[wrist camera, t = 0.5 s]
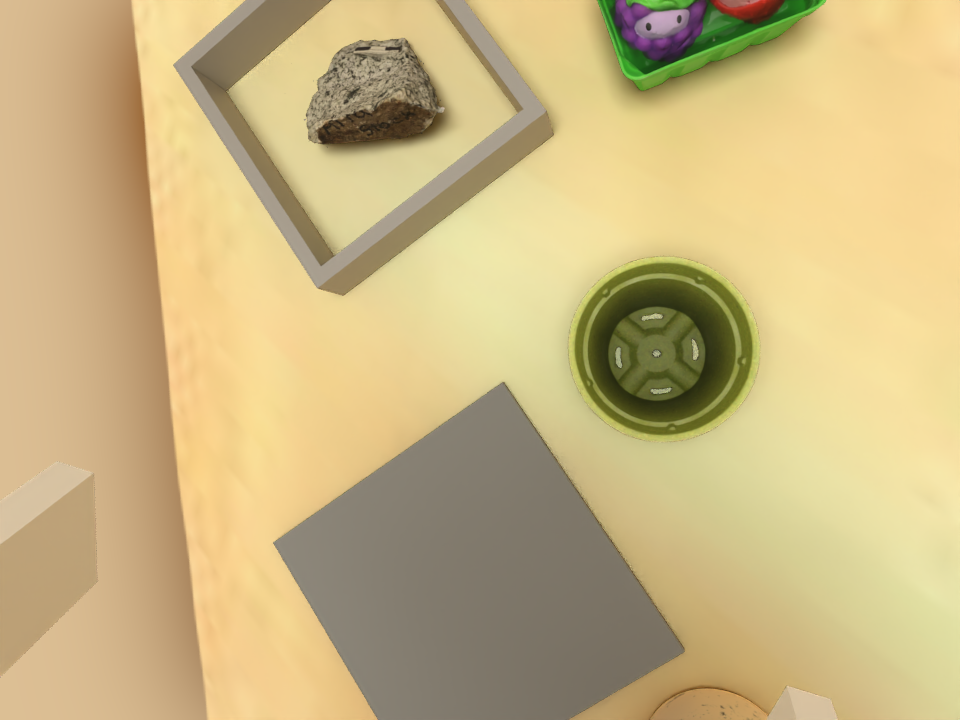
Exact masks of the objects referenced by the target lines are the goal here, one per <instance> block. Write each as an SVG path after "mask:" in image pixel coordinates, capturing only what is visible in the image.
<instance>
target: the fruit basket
mask: <svg viewBox="0 0 960 720" xmlns="http://www.w3.org/2000/svg"><path fill="white" fill-rule="evenodd" d="M597 1H598V4H599V7H600V9H601V12H602V15H603V18H604V20H605V23H606V26H607V29H608V32H609V35H610V37H611V40H612V43H613V46H614V49H615V52H616V55H617V58H618V61H619V64H620V67H621V70H622V72H623V74H624V75H625V76H626V77H627V78H628V79H630V80H632V81H633V82H634V83H635V84H636V86H637V87H638V88H639V90H641V91H644V90H647V89H650V88H652V87H655V86H657V85H659V84H662V83H663V82H665V81H666V80H667V79H669V77H679V76H682V75H684V74H687V73H689V72H692V71H694V70H697V69H699V68H701V67H703V66H704V65H705V64H707V63H708V62H709V61H711V62H712V61H719V60H721V59H724V58H726V57H729V56H731V55H734V54H736V53H739V52H741V51H742V50H744V49H745V48H746V47H748V46H749V45H758V44H761V43H763V42H766V41H768V40H771V39H774V38H776V37H778V36H780V35H781V34H782V33H784V32H785V31H786V30H787V29H789V28H790V27H791V26H792V25H794V24H795V23H796V22H797V21H799V20H800V19H801V18H802V17H805V16H807V15H809V14H811V13H812V12H814V11H815V10H816V9H818V8H819V7H820V6H822V5H823V4H824V3H825V2H826V0H597Z"/></svg>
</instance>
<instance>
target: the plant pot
mask: <svg viewBox="0 0 960 720" xmlns="http://www.w3.org/2000/svg"><path fill="white" fill-rule="evenodd" d="M654 313H658V314H662V315H663V318H662V319H650V320H645V321H642V320H641V318H642V316H645V315H651V314H654ZM691 339H693V340H695V341H696V343H697V346H698V350H699V357H698V359H697V360H693V359H692V357H693V349H692V342H691ZM617 347H620V348H621V362H622V365H623V366H622V368H619V367H618V366H617V365H616V362H615V361H616V358H615V351H616V348H617ZM654 350H659V351H660V352H661V355H660V356H659V357H653V355H652V353H653V351H654ZM568 356H569V363H570V368H571V372H572V376H573V378H574V381H575V384H576V386H577V388H578V390H579V392H580V394H581V396H582V397H583V399H584V400H585V402H586V403H587V405H588V406H589V407H590V408H591V409H592V411H593V412H594V413H595V414H596V415H597V416H598V417H599V418H601V419H602V420H603V421H604V422H605V423H607V424H608V425H609V426H611V427H612V428H614V429H616V430H617V431H619V432H621V433H623V434H625V435H628V436H631V437H634V438H637V439H641V440H645V441H652V442H675V441H682V440H687V439H691V438H694V437H697V436H700V435H702V434H704V433H706V432H709V431H710V430H712V429H714V428H716V427H717V426H719V425H720V424H721V423H723V422H724V421H726V420H727V419H728V418H729V417H730V416H731V415H732V414H733V413H734V412H735V411H736V410H737V409H738V408H739V407H740V405H741V404H742V403H743V401H744V400H745V399H746V397H747V396H748V394H749V392H750V390H751V388H752V386H753V384H754V381H755V378H756V375H757V372H758V367H759V360H760V338H759V332H758V328H757V324H756V321H755V318H754V315H753V313H752V311H751V309H750V307H749V305H748V304H747V302H746V300H745V299H744V297H743V296H742V295H741V293H740V292H739V291H738V289H737V288H736V287H735V286H734V285H733V284H732V283H731V282H730V281H729V280H727V279H726V278H725V277H724V276H722V275H721V274H720V273H718V272H716V271H715V270H713V269H712V268H710V267H708V266H706V265H703V264H701V263H698V262H696V261H692V260H689V259H685V258H680V257H671V256H657V257H649V258H643V259H639V260H635V261H632V262H629V263H627V264H624V265H622V266H620V267H618V268H616V269H614V270H612V271H611V272H609V273H608V274H606V275H605V276H604V277H603V278H601V279H600V280H599V281H598V282H597V283H596V284H595V285H594V286H593V287H592V288H591V289H590V290H589V291H588V293H587V294H586V295H585V296H584V298H583V299H582V301H581V303H580V304H579V306H578V308H577V310H576V312H575V314H574V317H573V320H572V323H571V327H570V332H569V339H568ZM669 387H671V388H672V390H671V392H668V393H665V394H653V393H651V392H650V389H663V388H669Z"/></svg>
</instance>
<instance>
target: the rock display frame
mask: <svg viewBox="0 0 960 720" xmlns="http://www.w3.org/2000/svg"><path fill="white" fill-rule="evenodd" d="M330 1H331V0H246V1H244V2H243V3H242V4H241V5H240V6H239V7H238V8H237V9H235V10H234V11H233V12H232V13H231V14H230V15H229V16H228V17H226V18H225V19H224V20H223V21H222V22H221V23H220V24H219V25H217V26H216V27H215V28H214V29H213V30H212V31H211V32H210V33H208V34H207V35H206V36H205V37H204V38H203V39H202V40H201V41H199V42H198V43H197V44H196V45H195V46H194V47H193V48H191V49H190V50H189V51H188V52H187V53H186V54H185V55H184V56H182V57H181V58H180V59H179V60H178V61H177V62H176V63H175V64H173V66H174V67H175V69H176V70H177V72H178V73H179V75H180V76H181V78H182V79H183V81H184V83H185V84H186V86H187V87H188V89H189V90H190V92H191V93H192V95H193V97H194V98H195V100H196V101H197V103H198V104H199V106H200V107H201V109H202V111H203V112H204V114H205V115H206V117H207V118H208V120H209V121H210V123H211V124H212V126H213V128H214V129H215V131H216V132H217V134H218V135H219V137H220V138H221V140H222V142H223V143H224V145H225V146H226V148H227V149H228V151H229V152H230V154H231V155H232V157H233V159H234V160H235V162H236V163H237V165H238V166H239V168H240V169H241V171H242V173H243V174H244V176H245V177H246V179H247V180H248V182H249V183H250V185H251V186H252V188H253V190H254V191H255V193H256V194H257V196H258V197H259V199H260V200H261V202H262V204H263V205H264V207H265V208H266V210H267V211H268V213H269V214H270V216H271V218H272V219H273V221H274V222H275V224H276V225H277V227H278V228H279V230H280V231H281V233H282V235H283V236H284V238H285V239H286V241H287V242H288V244H289V245H290V247H291V249H292V250H293V252H294V253H295V255H296V256H297V258H298V259H299V261H300V262H301V264H302V266H303V267H304V269H305V270H306V272H307V273H308V275H309V276H310V278H311V280H312V281H313V283H314V284H315V286H316V287H317V288H318V289H321V290H325V291H328V292H332V293H336V294H339V295H345V294H346V293H347V292H349V291H350V290H351V289H353V288H354V287H355V286H356V285H358V284H359V283H360V282H362V281H363V280H364V279H366V278H367V277H368V276H370V275H371V274H372V273H373V272H375V271H376V270H377V269H379V268H380V267H381V266H383V265H384V264H385V263H387V262H388V261H389V260H391V259H392V258H393V257H394V256H396V255H397V254H398V253H400V252H401V251H402V250H404V249H405V248H406V247H408V246H409V245H410V244H411V243H413V242H414V241H415V240H417V239H418V238H419V237H421V236H422V235H423V234H425V233H426V232H427V231H429V230H430V229H431V228H432V227H434V226H435V225H436V224H438V223H439V222H440V221H442V220H443V219H444V218H446V217H447V216H448V215H449V214H451V213H452V212H453V211H455V210H456V209H457V208H459V207H460V206H461V205H463V204H464V203H465V202H466V201H468V200H469V199H470V198H472V197H473V196H474V195H476V194H477V193H478V192H480V191H481V190H482V189H484V188H485V187H486V186H487V185H489V184H490V183H491V182H493V181H494V180H495V179H497V178H498V177H499V176H501V175H502V174H503V173H504V172H506V171H507V170H508V169H510V168H511V167H512V166H514V165H515V164H516V163H518V162H519V161H520V160H521V159H523V158H524V157H525V156H527V155H528V154H529V153H531V152H532V151H533V150H535V149H536V148H537V147H539V146H540V145H541V144H542V143H544V142H545V141H546V140H548V139H549V138H550V137H552V136H553V135H554V134H553V130H552V127H551V124H550V121H549V117H548V114H547V111H546V110H545V108H544V107H543V106H542V104H541V103H540V102H539V100H538V99H537V98H536V96H535V95H534V94H533V92H532V91H531V89H530V88H529V87H528V85H527V84H526V83H525V81H524V80H523V79H522V77H521V76H520V75H519V73H518V72H517V71H516V69H515V68H514V67H513V65H512V64H511V62H510V61H509V60H508V58H507V57H506V56H505V54H504V53H503V52H502V50H501V49H500V48H499V46H498V45H497V44H496V42H495V41H494V40H493V38H492V37H491V35H490V34H489V33H488V31H487V30H486V29H485V27H484V26H483V25H482V23H481V22H480V21H479V19H478V18H477V17H476V15H475V14H474V13H473V11H472V10H471V8H470V7H469V6H468V4H467V3H466V2H465V0H436V1H437V2H438V4H439V5H440V7H441V8H442V9H443V11H444V12H445V13H446V15H447V16H448V17H449V19H450V20H451V22H452V23H453V24H454V26H455V27H456V28H457V30H458V31H459V33H460V34H461V35H462V37H463V38H464V39H465V41H466V42H467V43H468V45H469V46H470V48H471V49H472V50H473V52H474V53H475V54H476V56H477V57H478V58H479V60H480V61H481V63H482V64H483V65H484V67H485V68H486V69H487V71H488V72H489V73H490V75H491V76H492V78H493V79H494V80H495V82H496V83H497V84H498V86H499V87H500V88H501V90H502V91H503V93H504V94H505V95H506V97H507V98H508V99H509V101H510V102H511V104H512V105H513V106H514V108H515V109H516V110H517V112H518V114H516V115H515V116H514V117H513V118H511V119H510V120H509V121H508V122H506V123H505V124H504V125H502V126H501V127H500V128H499V129H497V130H496V131H495V132H493V133H492V134H491V135H490V136H488V137H487V138H486V139H484V140H483V141H482V142H481V143H479V144H478V145H477V146H475V147H474V148H473V149H472V150H470V151H469V152H468V153H466V154H465V155H464V156H463V157H461V158H460V159H459V160H457V161H456V162H455V163H454V164H452V165H451V166H450V167H448V168H447V169H446V170H445V171H443V172H442V173H441V174H439V175H438V176H437V177H436V178H434V179H433V180H432V181H430V182H429V183H428V184H427V185H425V186H424V187H423V188H421V189H420V190H419V191H418V192H416V193H415V194H414V195H412V196H411V197H410V198H409V199H407V200H406V201H405V202H403V203H402V204H401V205H400V206H398V207H397V208H396V209H394V210H393V211H392V212H391V213H389V214H388V215H387V216H385V217H384V218H383V219H382V220H380V221H379V222H378V223H376V224H375V225H374V226H373V227H371V228H370V229H369V230H367V231H366V232H365V233H364V234H362V235H361V236H360V237H359V238H357V239H356V240H355V241H353V242H352V243H351V244H350V245H348V246H347V247H346V248H344V249H343V250H342V251H341V252H339V253H338V254H337V255H335V256H333V254H332V253H331V251H330V250H329V248H328V246H327V245H326V243H325V242H324V240H323V239H322V237H321V236H320V234H319V233H318V231H317V230H316V228H315V227H314V225H313V224H312V222H311V221H310V219H309V217H308V216H307V214H306V213H305V211H304V210H303V208H302V207H301V205H300V204H299V202H298V201H297V199H296V198H295V196H294V195H293V193H292V191H291V190H290V188H289V187H288V185H287V184H286V182H285V181H284V179H283V178H282V176H281V175H280V173H279V172H278V170H277V169H276V167H275V166H274V164H273V162H272V161H271V159H270V158H269V156H268V155H267V153H266V152H265V150H264V149H263V147H262V146H261V144H260V143H259V141H258V140H257V138H256V137H255V135H254V133H253V132H252V130H251V129H250V127H249V126H248V124H247V123H246V121H245V120H244V118H243V117H242V115H241V114H240V112H239V111H238V109H237V108H236V106H235V104H234V103H233V101H232V100H231V98H230V97H229V95H228V94H227V92H226V90H228V89H229V88H230V87H231V86H232V85H233V84H235V83H236V82H237V81H238V80H239V79H240V78H241V77H243V76H244V75H245V74H246V73H247V72H248V71H250V70H251V69H252V68H253V67H254V66H255V65H257V64H258V63H259V62H260V61H261V60H262V59H263V58H265V57H266V56H267V55H268V54H269V53H270V52H272V51H273V50H274V49H275V48H276V47H277V46H279V45H280V44H281V43H282V42H283V41H284V40H286V39H287V38H288V37H289V36H290V35H291V34H292V33H294V32H295V31H296V30H297V29H298V28H299V27H301V26H302V25H303V24H304V23H305V22H306V21H308V20H309V19H310V18H311V17H312V16H313V15H314V14H316V13H317V12H318V11H319V10H320V9H321V8H323V7H324V6H325V5H326V4H327V3H328V2H330Z"/></svg>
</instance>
